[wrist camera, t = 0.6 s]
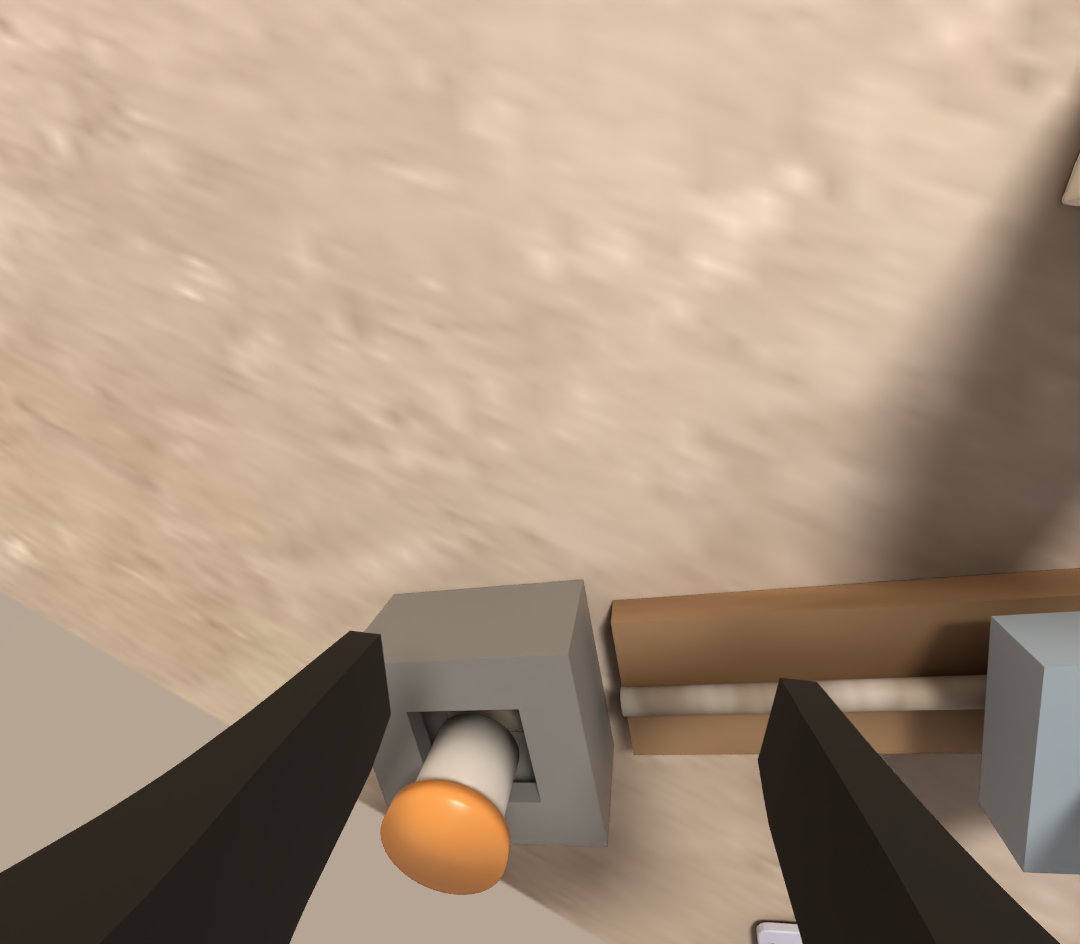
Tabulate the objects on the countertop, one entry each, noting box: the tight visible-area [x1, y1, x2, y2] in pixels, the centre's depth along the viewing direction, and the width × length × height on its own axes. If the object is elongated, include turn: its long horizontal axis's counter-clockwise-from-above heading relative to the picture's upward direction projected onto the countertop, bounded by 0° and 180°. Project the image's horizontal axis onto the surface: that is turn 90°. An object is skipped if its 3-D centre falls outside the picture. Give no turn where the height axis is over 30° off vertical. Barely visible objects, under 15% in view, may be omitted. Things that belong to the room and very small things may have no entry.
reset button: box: [381, 714, 519, 895], centre depth 17 cm, size 4×4×4 cm
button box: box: [364, 580, 614, 847], centre depth 21 cm, size 8×8×4 cm
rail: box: [611, 568, 1080, 755], centre depth 18 cm, size 6×18×2 cm, turn 101°
